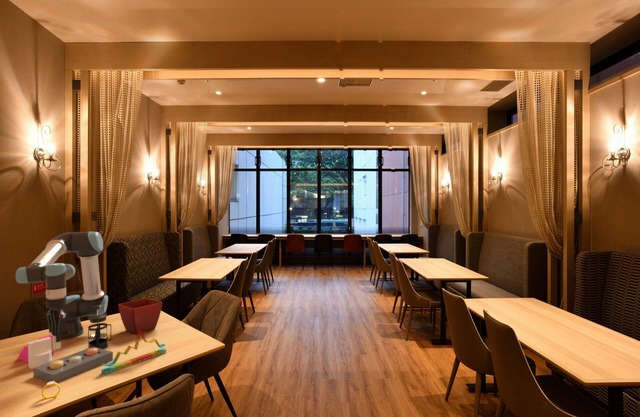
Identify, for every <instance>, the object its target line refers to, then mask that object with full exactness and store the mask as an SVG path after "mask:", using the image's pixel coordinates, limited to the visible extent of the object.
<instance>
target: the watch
mask: <svg viewBox="0 0 640 417" xmlns="http://www.w3.org/2000/svg"><path fill="white" fill-rule="evenodd" d="M51 386H56V387H57V388H58V392H57V393H56V394H53V395H48V396H47V395H45V393H44V390H45V388H47V387H51ZM60 392H61V385H60V383H59V382H58V383H55V381H51V382H47V383H46V385H44V387H43V388H42V389H41V396H42V397H43V398H44V399H46V400H47V399H52V398H56V397H57V396H58V395H59V394H60Z"/></svg>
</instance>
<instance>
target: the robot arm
mask: <svg viewBox="0 0 640 417" xmlns="http://www.w3.org/2000/svg"><path fill="white" fill-rule="evenodd" d="M103 250H104V240H103V237H102V235H101V233H99V232H98V231H71V232H69V231H68V232H64V233H62V234H59V235H57V236H55V237H53V238H51V239H50V240H49V241H48V242H47V244H46V245H45V249H44V250H42V252H41V253H40V254H39V255H38V256H37V257H36V258H35V259H34V260H33V261H32V262H31V263H30V264H29V265H28V266H23V267H19V268H17V270H16V272H15V281H16V282H17V283H18V284H32V283H33V284H34V283H45V298H46V300H45V307H46V308H48V311H45V316H46V319H47V320H46V321H47V328H48V332H49V334H50V335H52V338H53V342H52V350H53V351H56V350H59V349H61V348H62V340H68V339H71V338H75V337H79V336H81V335H82V334H84V327H83V325H82V322H81V320H80V319H81V318H83V317H91V316H94V315H97V308H93V307H94V306H97V305H102V306H101V307H99V309H98V315H102V314H104V315H105V313H106V311H107V308H108V303H109V296H108V295H106V294H105V292H104V290H102V288H101V287H102V286H101V278H100V277H101V276H100V267H99V266H100V264H99V255H100V254H101V252H102V251H103ZM67 253H68V254H69V253H76V256H77V257H78V258H79V259H80V266H81V274H82V283H83V292H84V293H83V294H82V295H81V296H80V295H79V294H72V295H68V296H67V281H68V280H70V279H72V278H73V277H74V276H75V273H76V268H75V267H74V266H73V265H72V264H70V263H62V262H59V263H58V262H57V263H55V262H56V261H57V260H58V258H60V256H62V255H65V254H67Z"/></svg>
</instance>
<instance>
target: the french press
mask: <svg viewBox="0 0 640 417" xmlns="http://www.w3.org/2000/svg"><path fill="white" fill-rule="evenodd" d="M101 306H102V305H97V306H94V307H93V308H97V315H94V316H88V318H87V320H88V321H89V323H91V325H89V326H87V331H88V332H87V337H88V339H87V344H88V346H87V349H89V348H91V347H96V348H100V349H103V350H105V348H108V346H109V344H108V342H110V341H112V338H109V339H108V338H107V337H108V333H107V332H101V331H102V330H105V329H108V326H110V330H109V331H110V336H112V324H111V323H107V322H106V323H105V321H107V317H108V315H107V314H105V313H104V314H102V315H98V309H99V307H101ZM90 332H94V334H92V335H91V334H90ZM105 337H106V338H105Z"/></svg>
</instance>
